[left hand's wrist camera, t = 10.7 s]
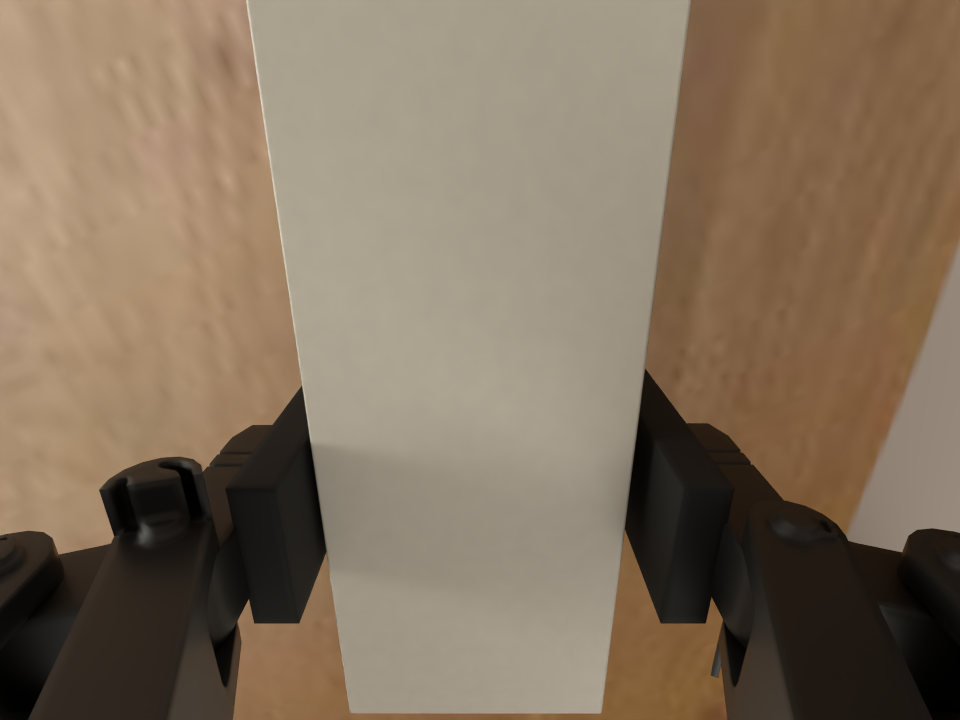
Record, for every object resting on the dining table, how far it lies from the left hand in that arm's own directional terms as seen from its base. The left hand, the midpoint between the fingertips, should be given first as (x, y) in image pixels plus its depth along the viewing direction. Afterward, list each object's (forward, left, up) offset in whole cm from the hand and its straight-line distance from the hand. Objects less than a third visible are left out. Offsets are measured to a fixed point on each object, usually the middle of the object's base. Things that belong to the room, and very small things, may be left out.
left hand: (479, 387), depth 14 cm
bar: (+31, +7, -2) cm, 31 cm away
